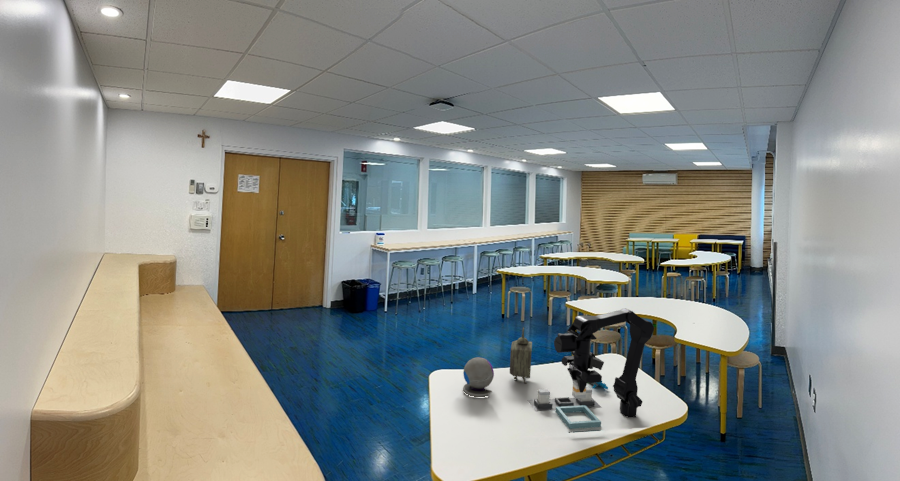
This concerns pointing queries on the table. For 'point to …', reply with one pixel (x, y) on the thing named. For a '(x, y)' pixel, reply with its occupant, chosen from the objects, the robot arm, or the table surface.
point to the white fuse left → (543, 396)
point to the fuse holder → (562, 403)
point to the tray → (578, 424)
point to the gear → (599, 385)
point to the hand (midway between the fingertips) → (579, 390)
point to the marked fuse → (578, 391)
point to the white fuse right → (587, 395)
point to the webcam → (478, 377)
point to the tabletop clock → (521, 358)
